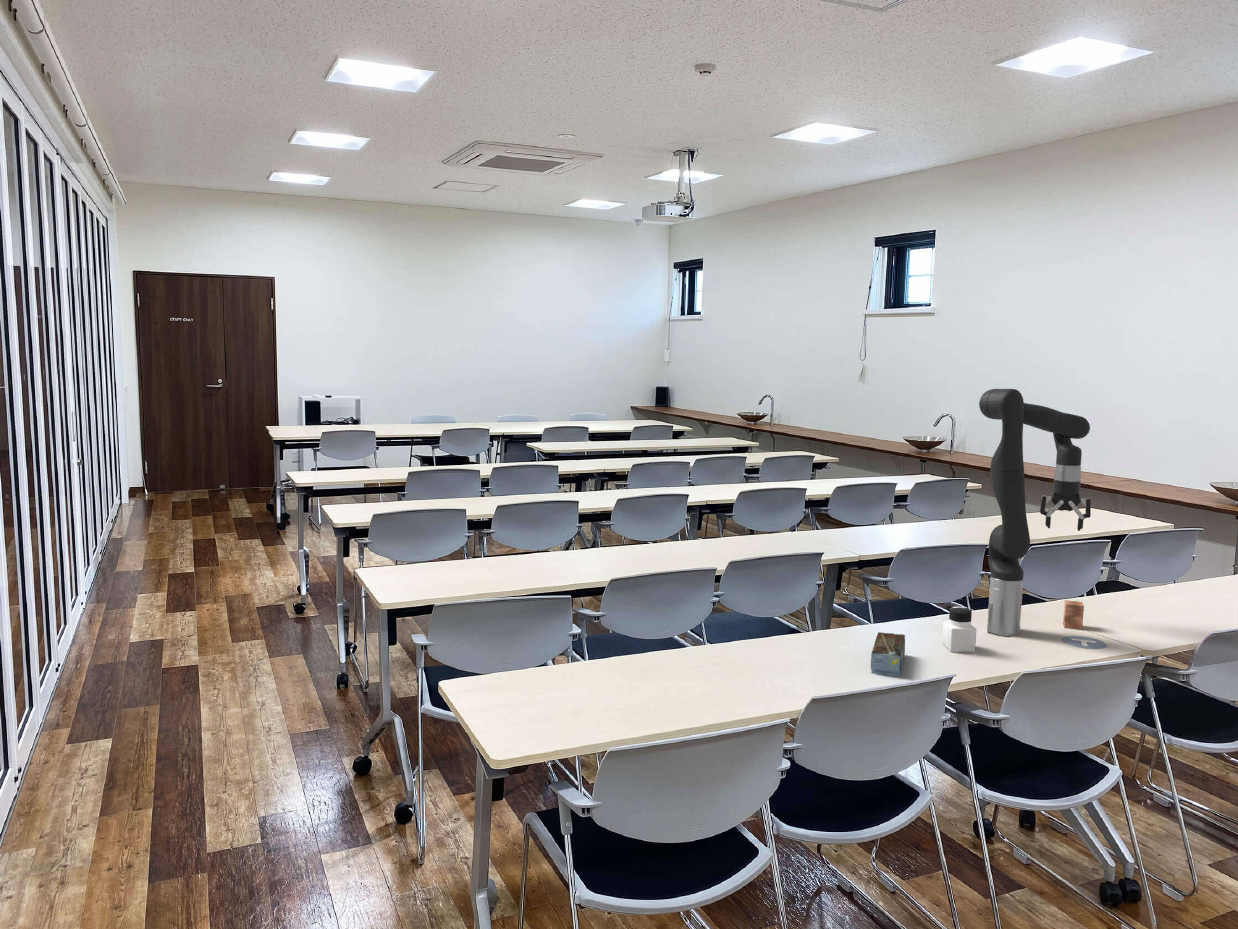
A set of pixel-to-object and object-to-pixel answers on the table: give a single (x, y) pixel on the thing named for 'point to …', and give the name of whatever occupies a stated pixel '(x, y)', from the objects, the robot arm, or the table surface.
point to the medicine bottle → (959, 631)
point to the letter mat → (1084, 642)
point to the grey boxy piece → (888, 654)
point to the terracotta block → (1073, 615)
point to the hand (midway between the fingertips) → (1063, 529)
